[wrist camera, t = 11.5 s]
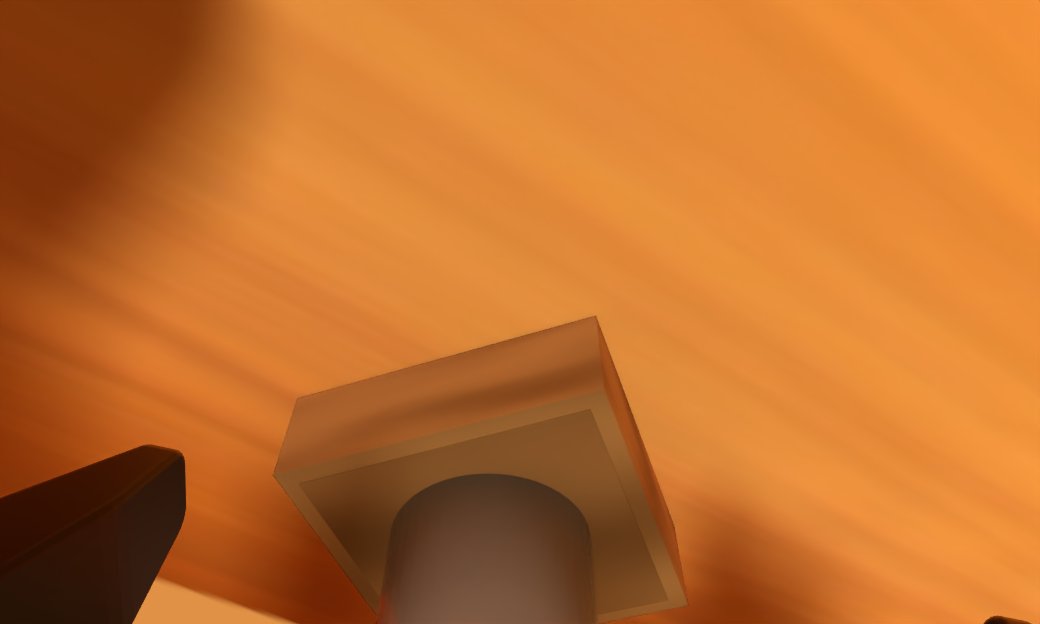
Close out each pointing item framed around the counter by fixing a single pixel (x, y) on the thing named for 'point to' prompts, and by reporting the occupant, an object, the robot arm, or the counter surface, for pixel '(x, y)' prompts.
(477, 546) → the canister
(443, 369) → the stand
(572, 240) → the counter surface
